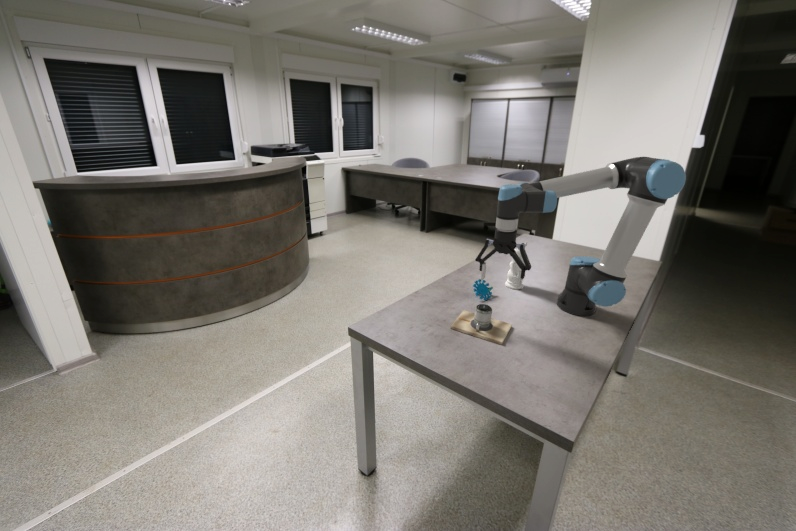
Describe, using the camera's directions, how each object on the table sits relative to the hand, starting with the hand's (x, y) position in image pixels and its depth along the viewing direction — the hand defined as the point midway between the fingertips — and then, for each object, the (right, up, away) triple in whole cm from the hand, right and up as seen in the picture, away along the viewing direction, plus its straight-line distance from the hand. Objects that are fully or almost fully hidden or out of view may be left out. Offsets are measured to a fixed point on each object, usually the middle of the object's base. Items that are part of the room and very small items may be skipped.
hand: (500, 282), depth 134 cm
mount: (-7, -18, +3) cm, 19 cm away
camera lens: (-7, -17, +2) cm, 18 cm away
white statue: (+17, -3, +39) cm, 43 cm away
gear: (0, -8, +27) cm, 28 cm away
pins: (-7, -17, +2) cm, 18 cm away
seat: (-7, -17, +2) cm, 18 cm away
